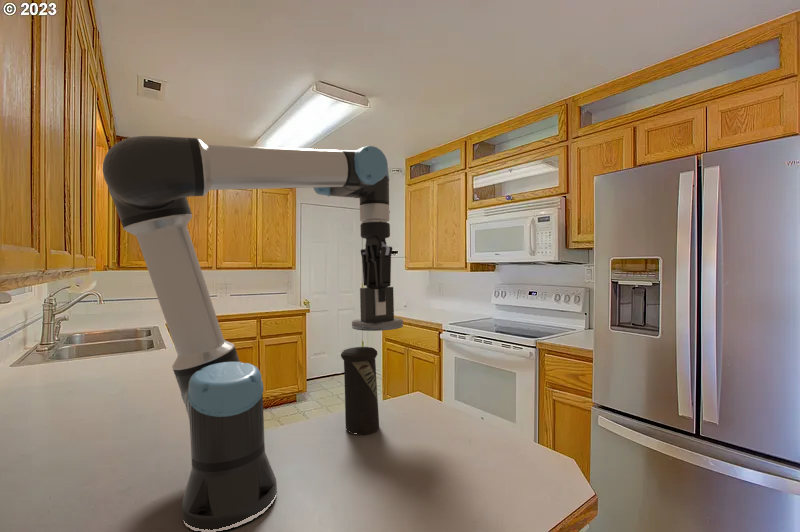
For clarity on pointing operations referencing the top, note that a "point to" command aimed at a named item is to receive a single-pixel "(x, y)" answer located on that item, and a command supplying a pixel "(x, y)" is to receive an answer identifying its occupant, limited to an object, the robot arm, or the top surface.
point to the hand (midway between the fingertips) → (377, 314)
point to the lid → (368, 312)
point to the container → (360, 390)
